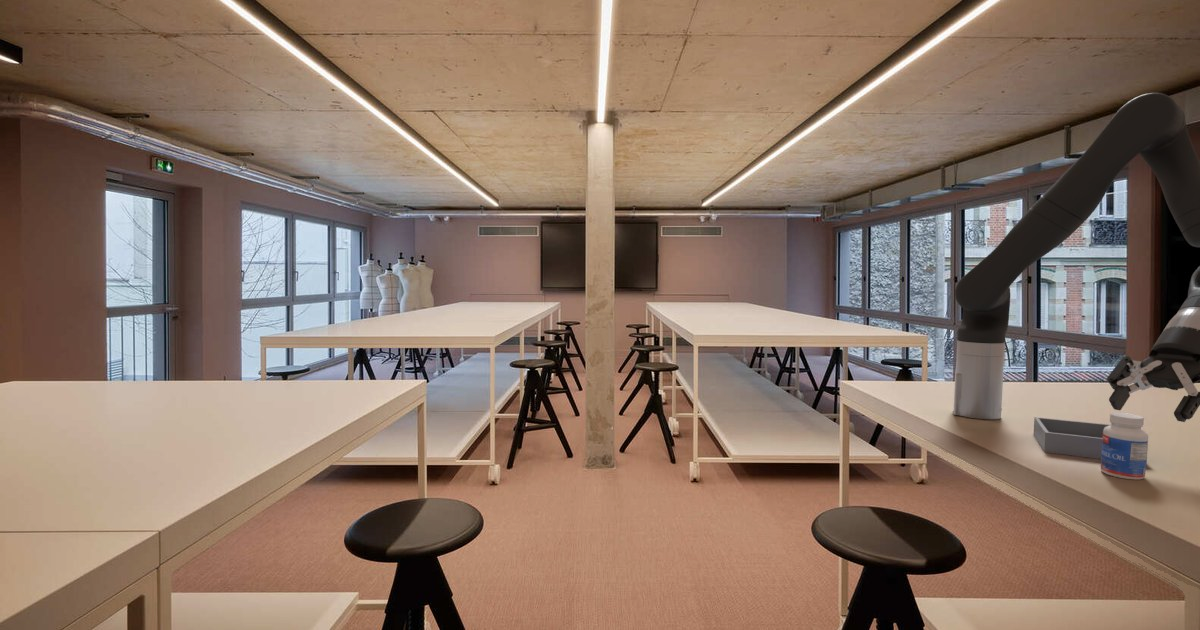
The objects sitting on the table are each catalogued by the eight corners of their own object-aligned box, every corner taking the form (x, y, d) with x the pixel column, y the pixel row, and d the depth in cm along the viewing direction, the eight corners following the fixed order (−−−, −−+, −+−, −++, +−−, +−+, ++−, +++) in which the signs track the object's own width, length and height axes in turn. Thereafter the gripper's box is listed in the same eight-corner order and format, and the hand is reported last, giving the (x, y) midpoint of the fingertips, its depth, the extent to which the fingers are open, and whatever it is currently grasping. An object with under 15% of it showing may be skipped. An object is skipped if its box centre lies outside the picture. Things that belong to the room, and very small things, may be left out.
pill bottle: (1091, 469, 97) (1094, 411, 96) (1121, 468, 97) (1124, 411, 96) (1123, 481, 91) (1127, 419, 91) (1155, 480, 92) (1159, 418, 91)
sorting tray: (1044, 451, 106) (1045, 432, 106) (1033, 434, 118) (1034, 417, 118) (1146, 464, 99) (1147, 443, 99) (1124, 444, 111) (1125, 426, 111)
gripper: (1131, 322, 104) (1086, 389, 101) (1241, 328, 90) (1193, 406, 87) (1148, 350, 106) (1104, 417, 103) (1258, 360, 93) (1211, 438, 89)
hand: (1145, 412), depth 95 cm, fingers open, 8 cm apart
